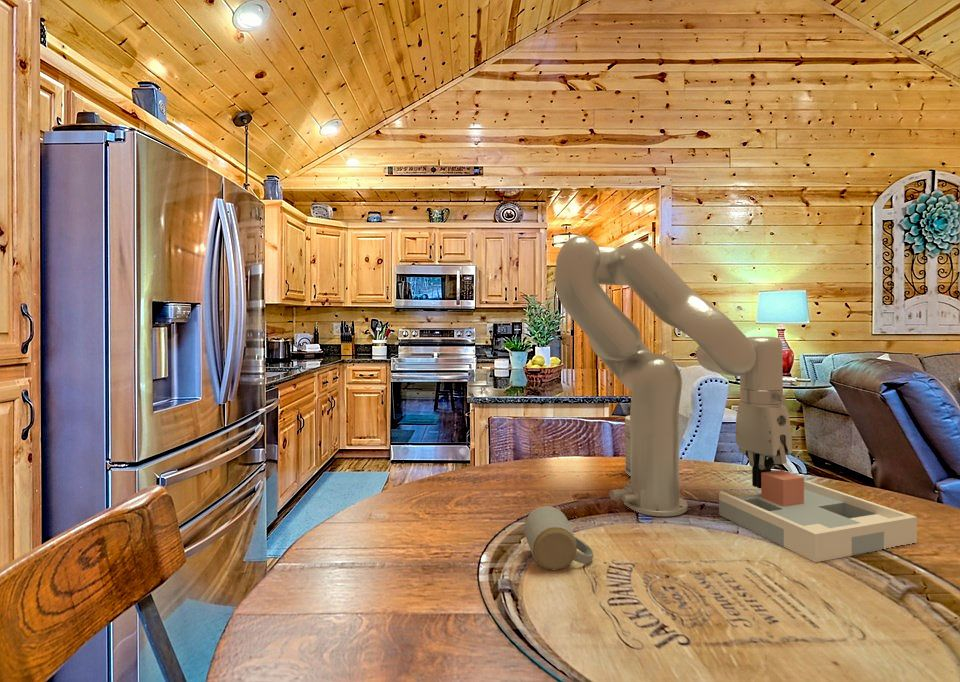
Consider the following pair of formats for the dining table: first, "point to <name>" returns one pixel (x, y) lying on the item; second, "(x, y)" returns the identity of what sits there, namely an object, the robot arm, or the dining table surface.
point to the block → (782, 488)
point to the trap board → (822, 523)
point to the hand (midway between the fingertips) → (761, 486)
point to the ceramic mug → (554, 539)
